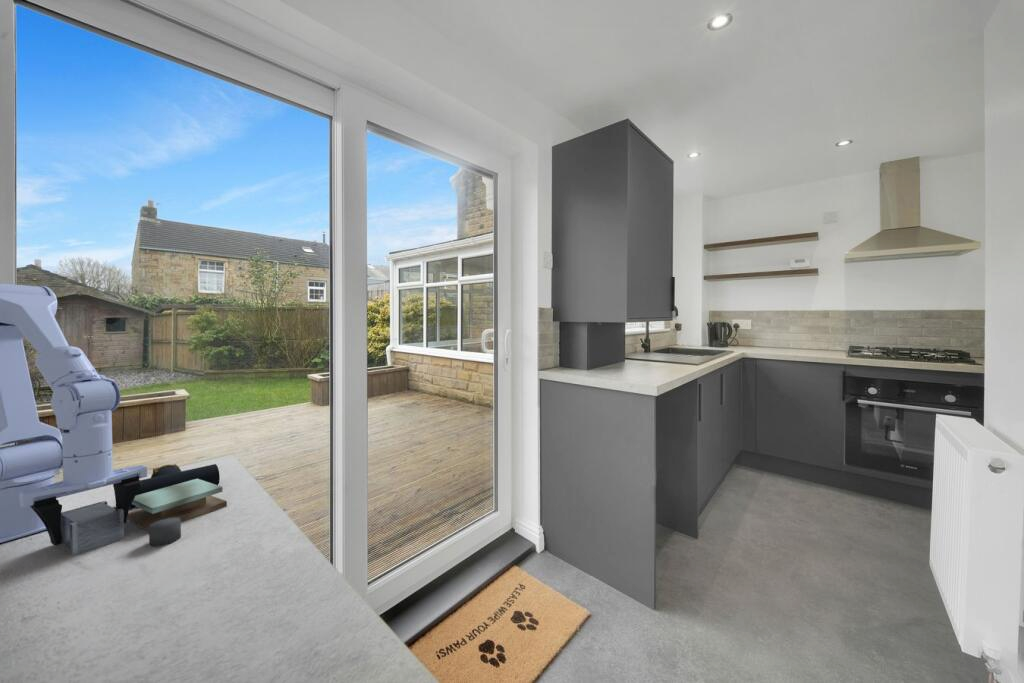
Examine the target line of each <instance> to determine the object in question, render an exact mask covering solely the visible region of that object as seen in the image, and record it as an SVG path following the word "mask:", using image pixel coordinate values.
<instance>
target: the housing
mask: <svg viewBox="0 0 1024 683" xmlns="http://www.w3.org/2000/svg"><path fill="white" fill-rule="evenodd" d="M61 534H62V544H59V545H58V546H60V545H63V546H64V547H66V548H67V549H69V551H70V555H71V556H72V557H75V556H78V555H81V554H83V553H87V552H90V551H93V550H96V549H99V548H101V547H104V546H108V545H110V544H113V543H116V542H118V541H121V540H124V539H125V524H124V510H123V509H118V510H117V509H116V507H113V506H111V505H109V504H108V501H107V500H103V501H99V502H96V503H95V502H94V503H92V504H87V505H85V506H80V507H76V508H73V509H70V510H66V511H61Z"/></svg>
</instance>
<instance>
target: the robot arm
mask: <svg viewBox="0 0 1024 683" xmlns="http://www.w3.org/2000/svg"><path fill="white" fill-rule="evenodd" d="M57 310H58V299H57V295H56V293H55V292H54V291H53V290H52V289H51V288H50V287H48V286H45V285H37V286H36V285H27V284H26V285H25V284H12V283H2V282H1V283H0V446H1V447H0V544H2V543H5V542H9V541H12V540H15V539H19V538H23V537H25V536H30V535H32V534H37V533H39V532H43V531H47V533H48V536H49V539H50V543H51V544H52V545H53V546H55V547H56V546H60V545H59V544H61V545H63V544H62V534H61V513H62V512H63V510H62V509H63V504H60V502H59V499H58V498H63V497H67V496H71V495H75V494H79V493H83V492H86V491H87V492H88V491H91V490H95V489H99V488H103V487H108V486H111V485H113V491H114V497H115V509H117V510H118V509H123V510H124V525H125V524H126V523H127V516H128V513H129V512H130V509H131V508H132V507H131V504H132V502H133V500H134V498H135V496H136V494H137V492H138V491H139V489H140V488H141V486H142V481H141V480H142V479H143V478H147V477H148V466H147V465H144V464H139V465H136V466H135V465H134V466H130V467H124V468H119V469H117V468H116V469H114V460H113V457H114V454H113V451H114V450H113V416H112V415H113V413H112V412H114V411H116V410H117V409H118V407H119V406H120V403H121V401H122V400H121V399H122V398H121V397H122V394H121V389H120V387H119V385H118V383H117V382H116V381H115V380H114V379H112V378H109V377H106V375H105V374H99V373H98V371H97V370H96V368H95V367H94V365H93V364H92V362H91V361H90V359H88V357H87V355H86V354H85V352H84V351H83V350H82V349H81V348H79V347H78V346H77V347H76V346H74V345H73V346H71V345H69V343H68V342H67V339H66V337H65V335H64V333H63V331H62V330H61V328H60V325H59V323H58V321H57V319H56V318H55V316H56V314H57ZM24 338H25V339H26V340H27V341H28V343H29V344H31V346H32V347H33V348H34V350H35V351H36V352H37V353H38V354H39V355H37V357H36V358H35V361H34V364H35V366H36V368H37V369H38V371H39V372H40V374H41V376H42V377H43V379H44V380H45V381H46V384H47V385H48V386H49V388H50V389H51V391H52V392H53V393H52V395H51V399H50V406H51V410H52V411H53V414H54V415H55V419H56V420H55V421H56V426H57V427H56V426H52V425H50V424H47V423H44V422H43V421H42V422H41V421H40V418H39V417H40V416H39V413H38V408H37V402H36V399H35V394H34V390H33V389H34V388H33V384H32V380H31V375H30V371H29V370H30V369H29V365H28V360H27V357H26V352H25V347H24V342H23V340H24ZM60 429H61V430H60ZM26 441H27V442H26ZM21 442H22V443H21ZM15 443H17V444H15ZM10 444H12V445H10ZM61 469H62V480H61V481H58V482H56V479H55V478H56V477H55V476H56V475H60V472H61V471H60V470H61ZM130 507H131V508H130Z"/></svg>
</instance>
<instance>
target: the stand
mask: <svg viewBox="0 0 1024 683" xmlns="http://www.w3.org/2000/svg"><path fill="white" fill-rule="evenodd" d="M219 493H223V486H222V485H215V484H212V483H209V482H206V481H203V480H200V479H194V480H190V481H187V482H183V483H180V484H176V485H172V486H169V487H165V488H162V489H158V490H154V491H151V492H147V493H143V494H140V495H136V496H135V498H134V500H133V502H132V505H135V507H137V508H139V509H135V510H133V511H129V512H128V516H127V520H126V522H127V521H128V522H129V523H131V524H133V525H136V527H139V528H141V529H143V530H145V531H147V532H149V526H150V525H151V524H153V523H155V522H157V521H160V520H163V519H167V518H180V519H181V523H182V522H185V521H189V520H191V519H193V518H196V517H199V516H203V515H205V514H208V513H211V512H213V511H217V510H220V509H222V507H223V508H225V507H228V502H227V500H225V499H222V498H219V497H217V496H213V495H216V494H219Z"/></svg>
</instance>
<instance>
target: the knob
mask: <svg viewBox="0 0 1024 683" xmlns="http://www.w3.org/2000/svg"><path fill="white" fill-rule="evenodd" d="M181 523H182V522H181V519H180V518H167V519H163V520H160V521H157V522H155V523H153V524H151V525H150V526H149V531H148V534H149V536H148V538H149V539H148V540H149V543H148V544H149V546H150V547H153V548H158V547H163V546H167V545H170V544H173V543H176V542H177V541H179V540H180V539H181V538H182V524H181Z"/></svg>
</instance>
